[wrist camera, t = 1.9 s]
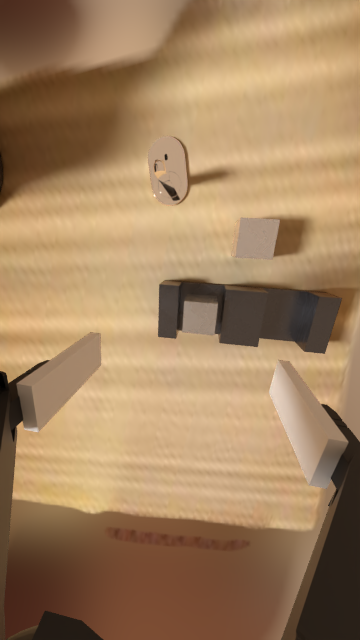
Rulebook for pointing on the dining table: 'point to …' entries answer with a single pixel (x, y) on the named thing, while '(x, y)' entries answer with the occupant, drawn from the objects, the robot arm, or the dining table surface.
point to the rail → (255, 313)
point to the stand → (168, 170)
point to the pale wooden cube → (255, 238)
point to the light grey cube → (200, 314)
